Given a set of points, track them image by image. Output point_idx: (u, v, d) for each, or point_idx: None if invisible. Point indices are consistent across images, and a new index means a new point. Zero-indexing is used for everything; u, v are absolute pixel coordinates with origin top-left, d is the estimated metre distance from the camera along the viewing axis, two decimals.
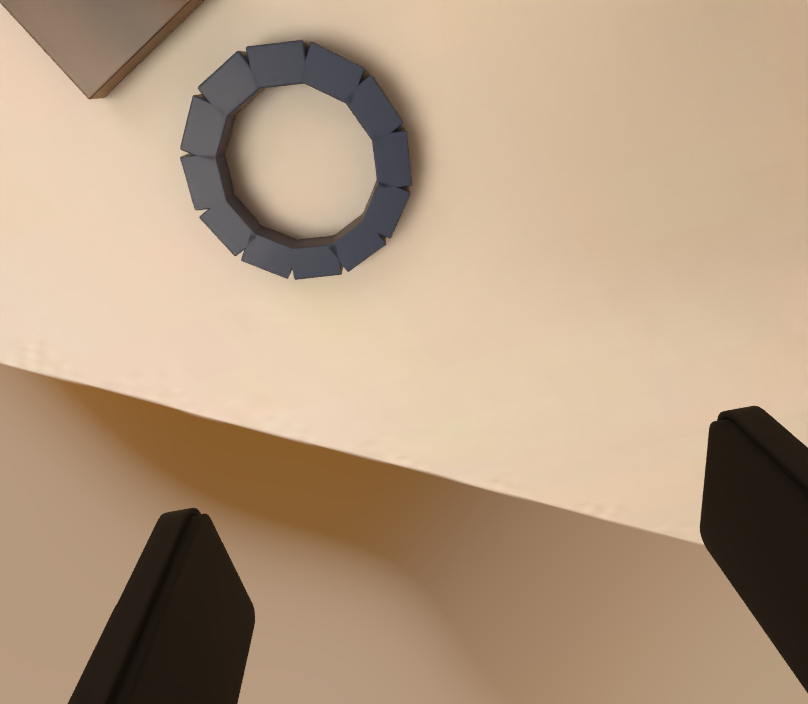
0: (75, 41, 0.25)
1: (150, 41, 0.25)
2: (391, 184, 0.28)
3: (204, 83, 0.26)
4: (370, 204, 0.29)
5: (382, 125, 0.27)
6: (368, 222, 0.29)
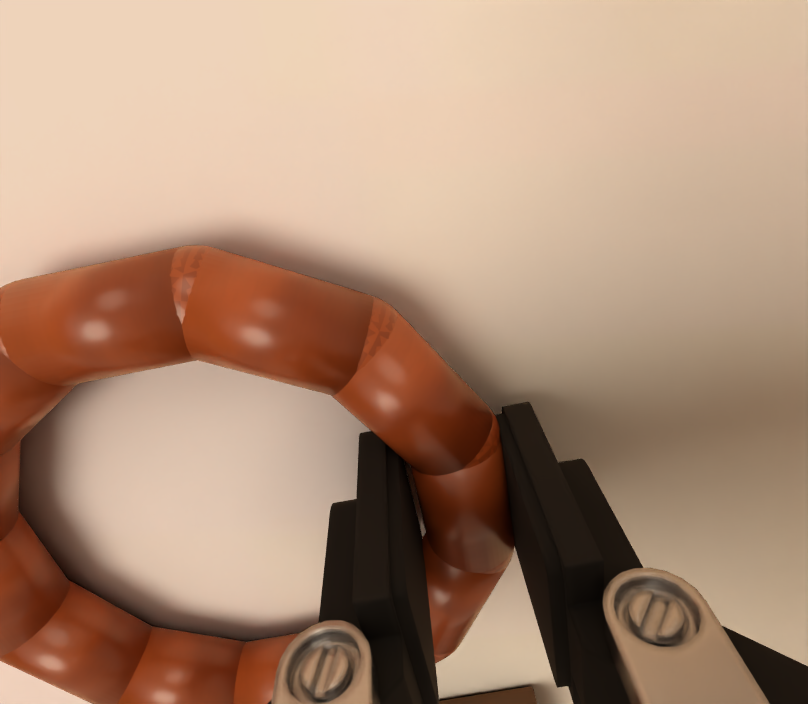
0: None
1: None
2: None
3: None
4: None
5: None
6: None
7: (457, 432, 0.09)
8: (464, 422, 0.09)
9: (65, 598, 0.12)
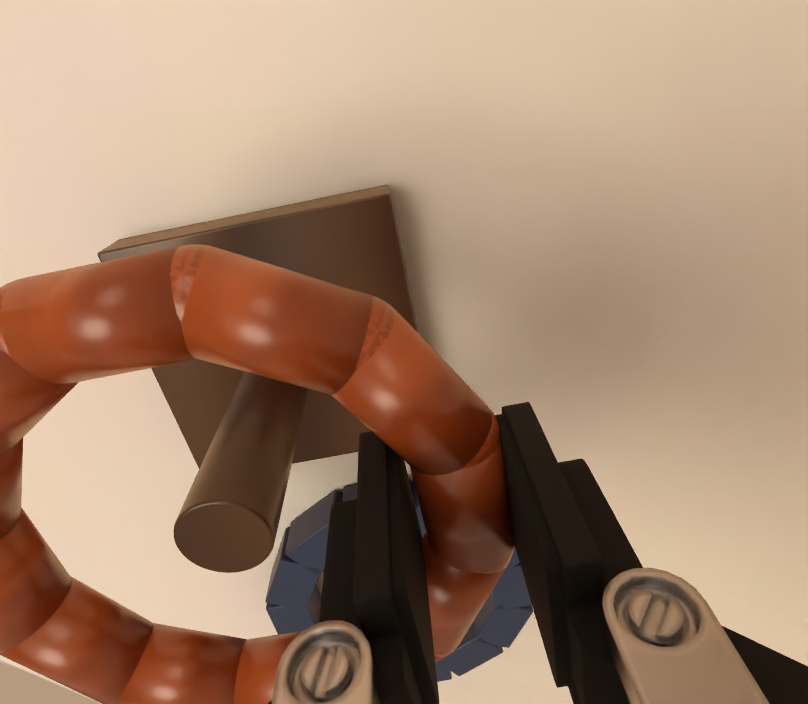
0: None
1: None
2: (489, 642, 0.25)
3: None
4: (458, 649, 0.25)
5: (513, 601, 0.24)
6: (446, 660, 0.25)
7: (456, 432, 0.09)
8: (463, 422, 0.09)
9: (67, 594, 0.12)
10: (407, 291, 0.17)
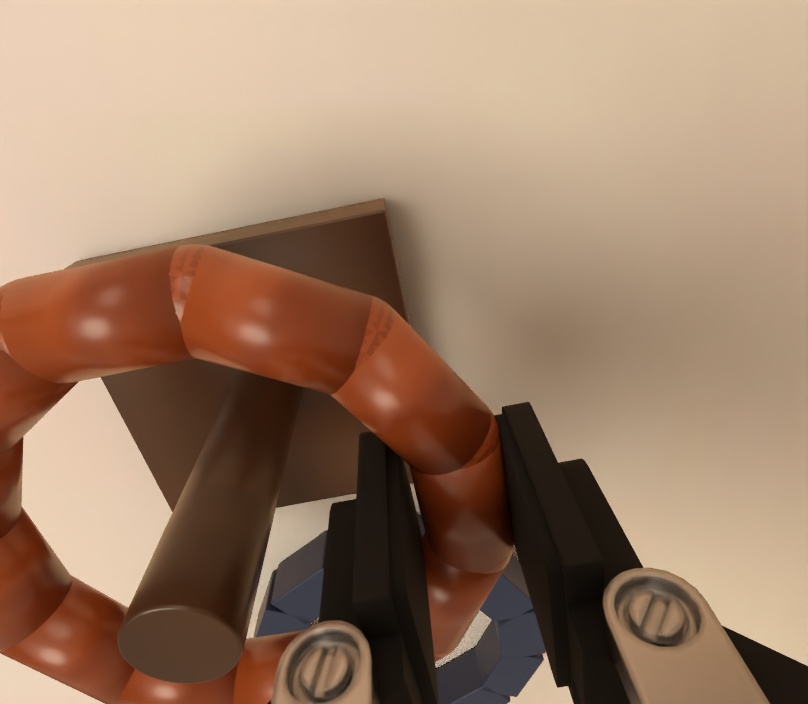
0: None
1: None
2: (496, 691, 0.23)
3: None
4: (461, 699, 0.23)
5: (521, 649, 0.22)
6: None
7: (455, 432, 0.09)
8: (462, 422, 0.09)
9: (67, 593, 0.12)
10: (406, 319, 0.15)
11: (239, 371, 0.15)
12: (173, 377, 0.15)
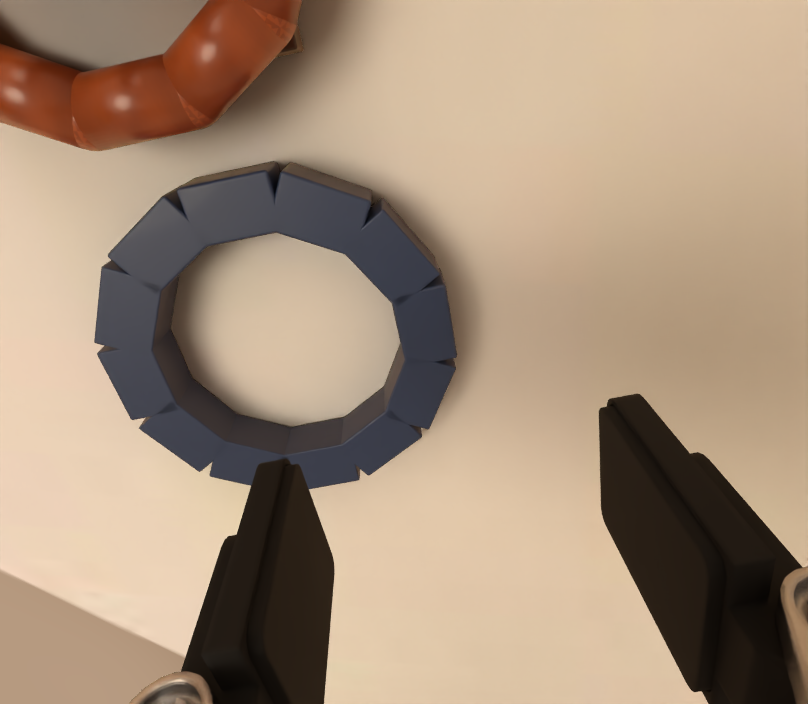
0: None
1: None
2: (403, 418, 0.19)
3: (190, 188, 0.15)
4: (362, 430, 0.19)
5: (427, 349, 0.18)
6: (348, 449, 0.20)
7: None
8: None
9: None
10: None
11: None
12: None
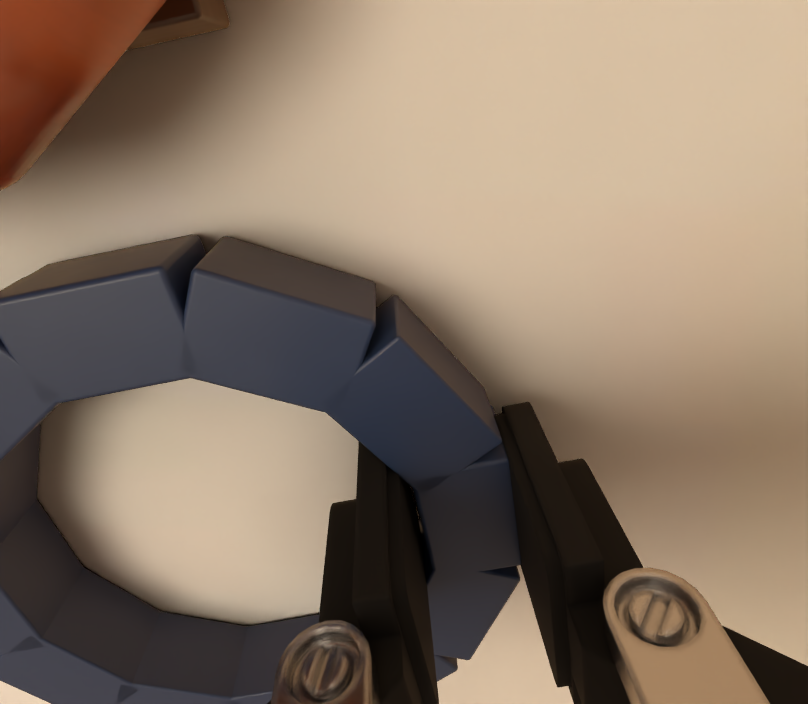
0: None
1: None
2: None
3: (8, 303, 0.07)
4: None
5: (472, 554, 0.10)
6: None
7: None
8: None
9: None
10: None
11: None
12: None
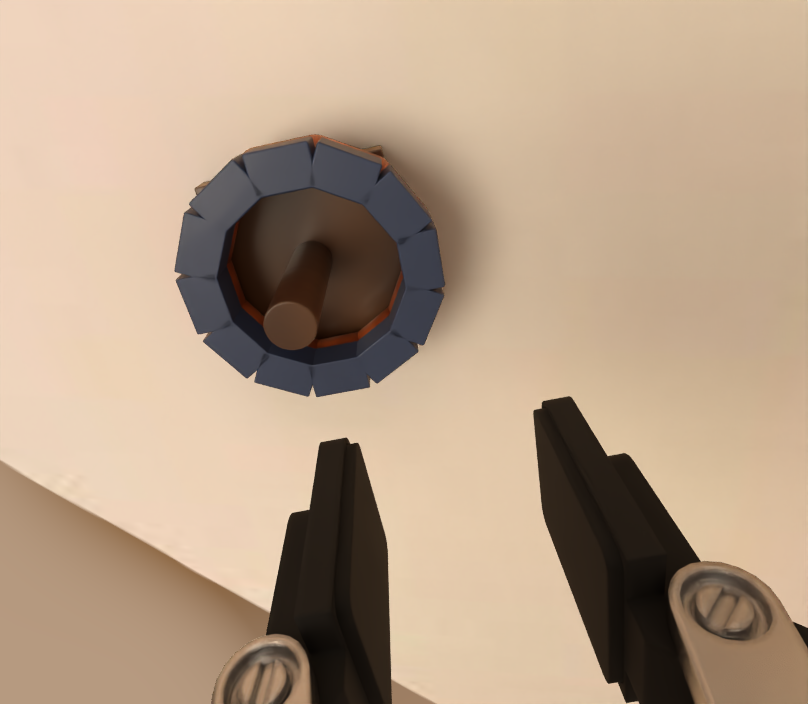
0: None
1: None
2: (403, 336, 0.25)
3: (251, 154, 0.21)
4: (372, 345, 0.25)
5: (422, 279, 0.24)
6: (362, 360, 0.26)
7: None
8: None
9: (245, 300, 0.27)
10: None
11: (297, 246, 0.26)
12: (258, 250, 0.27)
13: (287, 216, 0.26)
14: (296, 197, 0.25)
